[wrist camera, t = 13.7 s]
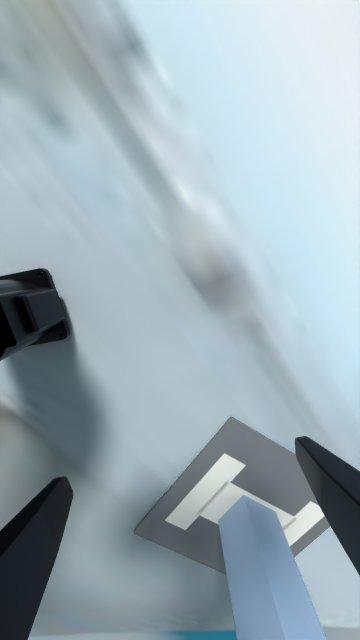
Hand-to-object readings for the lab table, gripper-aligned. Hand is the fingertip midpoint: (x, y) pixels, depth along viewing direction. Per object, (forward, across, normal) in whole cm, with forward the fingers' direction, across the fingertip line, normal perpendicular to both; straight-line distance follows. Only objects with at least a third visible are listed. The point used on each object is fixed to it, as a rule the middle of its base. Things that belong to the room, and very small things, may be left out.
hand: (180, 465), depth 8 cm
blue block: (+12, -4, +23) cm, 27 cm away
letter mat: (+13, -4, +23) cm, 27 cm away
